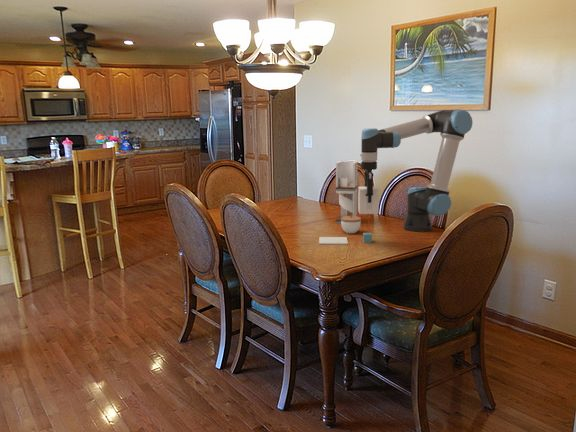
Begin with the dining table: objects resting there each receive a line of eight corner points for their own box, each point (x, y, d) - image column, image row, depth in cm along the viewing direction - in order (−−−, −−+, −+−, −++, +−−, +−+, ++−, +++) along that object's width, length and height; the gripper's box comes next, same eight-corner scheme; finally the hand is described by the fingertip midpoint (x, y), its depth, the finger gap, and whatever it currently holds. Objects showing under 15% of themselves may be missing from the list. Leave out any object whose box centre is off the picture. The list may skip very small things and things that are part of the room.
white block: (376, 210, 235) (376, 186, 233) (378, 213, 226) (379, 189, 224) (358, 210, 236) (358, 186, 233) (359, 213, 227) (359, 189, 224)
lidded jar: (345, 235, 247) (345, 217, 245) (337, 230, 257) (337, 213, 255) (364, 233, 250) (364, 216, 248) (356, 229, 260) (356, 212, 258)
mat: (346, 238, 241) (346, 237, 241) (347, 244, 229) (347, 243, 229) (319, 238, 242) (319, 237, 242) (319, 244, 230) (319, 243, 230)
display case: (339, 219, 284) (339, 161, 277) (356, 219, 282) (357, 161, 274) (335, 223, 274) (336, 163, 266) (353, 224, 271) (354, 163, 263)
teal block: (371, 240, 236) (371, 232, 235) (371, 242, 232) (372, 234, 231) (363, 240, 236) (363, 232, 236) (363, 242, 232) (363, 234, 232)
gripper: (359, 159, 237) (358, 203, 241) (363, 163, 215) (362, 211, 220) (374, 158, 236) (373, 202, 241) (379, 163, 215) (378, 211, 220)
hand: (368, 207), depth 231 cm, fingers closed on white block, 9 cm apart
